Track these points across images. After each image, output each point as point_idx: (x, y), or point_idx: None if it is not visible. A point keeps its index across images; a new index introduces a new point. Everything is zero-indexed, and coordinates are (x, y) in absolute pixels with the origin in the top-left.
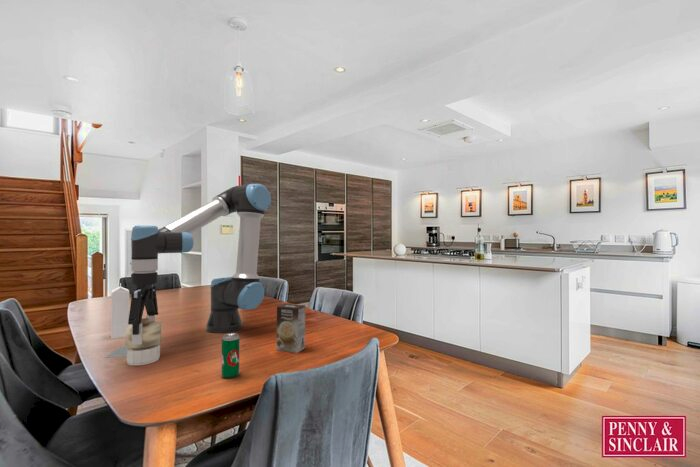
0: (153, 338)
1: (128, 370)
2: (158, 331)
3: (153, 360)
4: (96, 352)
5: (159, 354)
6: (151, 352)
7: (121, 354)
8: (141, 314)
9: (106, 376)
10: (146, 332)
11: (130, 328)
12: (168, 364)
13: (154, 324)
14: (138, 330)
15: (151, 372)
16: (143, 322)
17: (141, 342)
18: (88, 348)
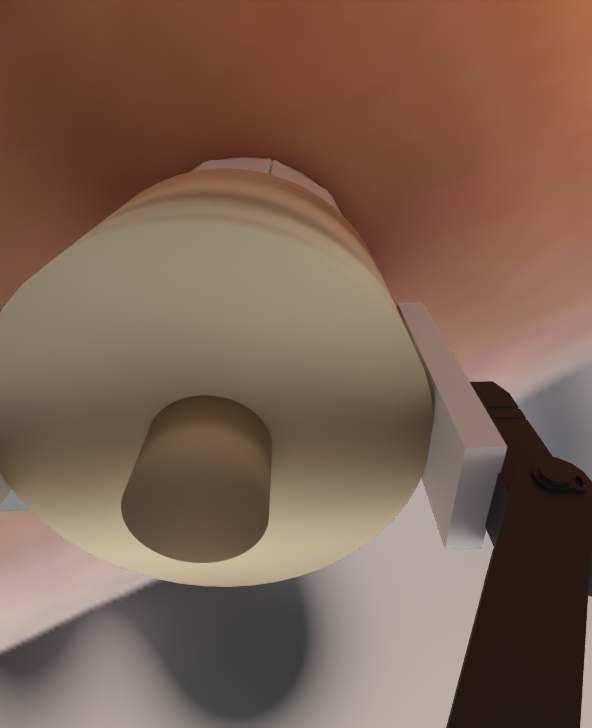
0: (335, 223)
1: (414, 295)
2: (254, 205)
3: (303, 177)
4: (73, 572)
5: (214, 163)
6: (329, 203)
7: None
8: (561, 598)
9: (482, 375)
10: (402, 321)
11: (361, 523)
12: (355, 15)
13: (169, 325)
14: (491, 410)
15: (515, 105)
16: (268, 471)
17: (418, 310)
18: (15, 622)
